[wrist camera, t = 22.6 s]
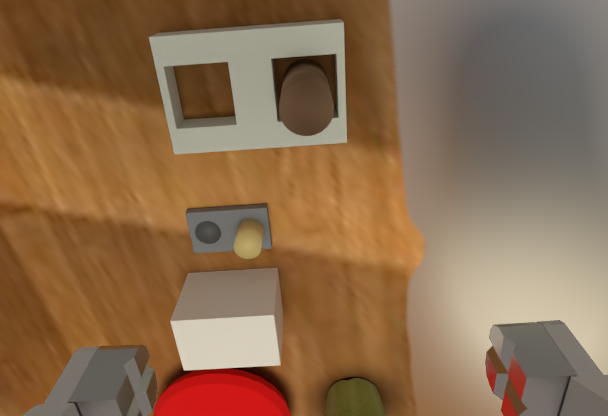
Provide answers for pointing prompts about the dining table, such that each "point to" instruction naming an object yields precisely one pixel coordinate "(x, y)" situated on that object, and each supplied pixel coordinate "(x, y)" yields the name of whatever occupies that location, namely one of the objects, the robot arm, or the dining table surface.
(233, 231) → the plate
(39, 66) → the dining table surface
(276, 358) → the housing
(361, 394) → the plant pot
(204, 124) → the peg board
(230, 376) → the red domed lid
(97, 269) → the dining table surface
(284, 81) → the peg
